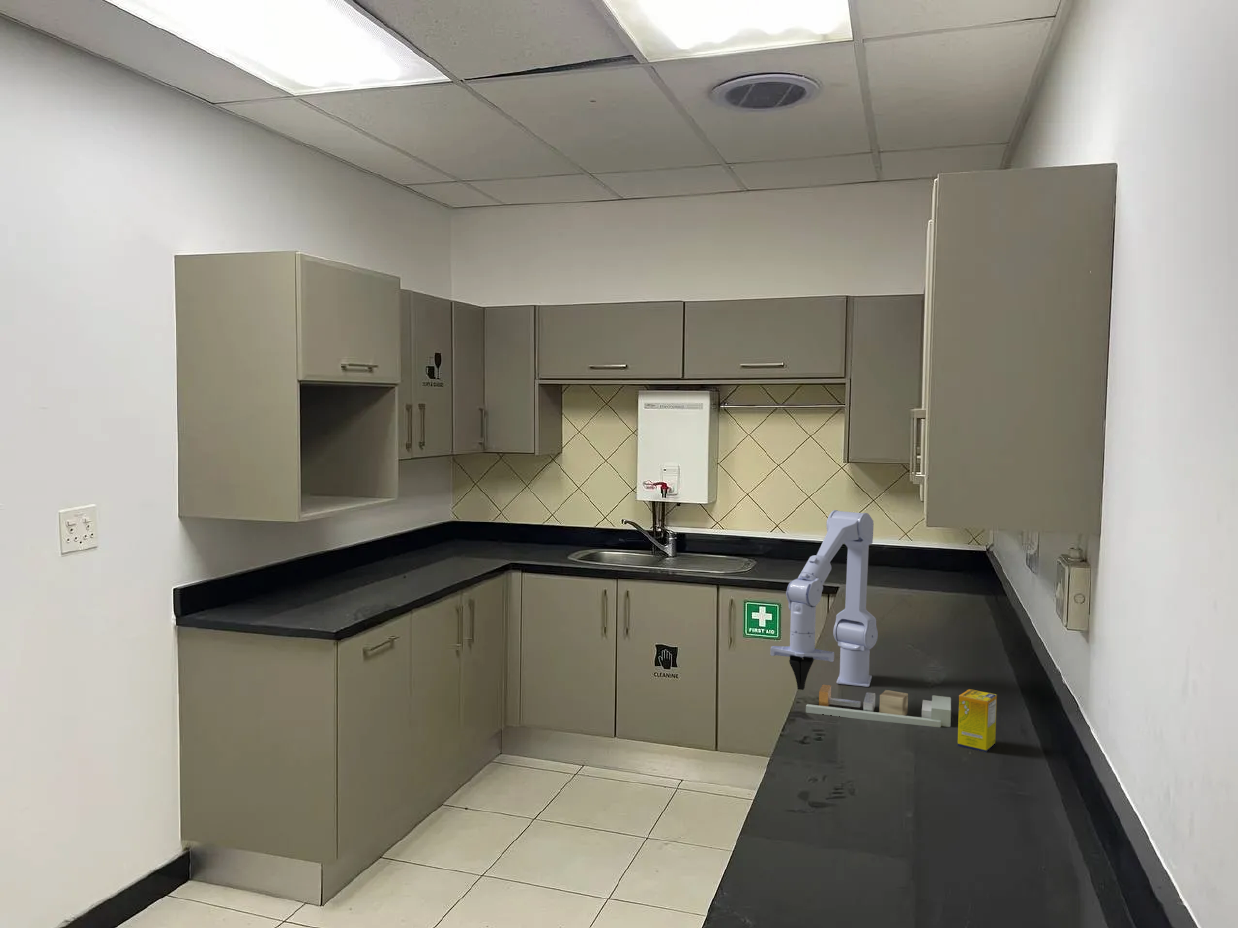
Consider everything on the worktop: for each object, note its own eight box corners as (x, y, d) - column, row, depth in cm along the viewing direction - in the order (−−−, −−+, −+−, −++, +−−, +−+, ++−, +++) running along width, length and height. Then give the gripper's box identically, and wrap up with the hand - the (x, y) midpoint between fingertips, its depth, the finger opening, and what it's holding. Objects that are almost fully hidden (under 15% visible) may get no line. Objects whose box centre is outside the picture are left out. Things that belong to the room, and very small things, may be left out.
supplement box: (966, 739, 194) (968, 688, 193) (995, 746, 190) (997, 694, 189) (956, 747, 189) (958, 694, 188) (986, 754, 185) (988, 700, 185)
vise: (812, 698, 220) (812, 682, 220) (950, 714, 210) (950, 697, 210) (805, 712, 210) (806, 695, 210) (950, 729, 200) (950, 711, 199)
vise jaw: (822, 699, 219) (823, 683, 218) (874, 705, 215) (875, 688, 214) (818, 709, 211) (818, 692, 211) (872, 716, 207) (872, 698, 207)
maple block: (885, 711, 212) (885, 689, 212) (907, 715, 210) (908, 693, 209) (879, 717, 208) (879, 695, 208) (901, 721, 205) (902, 699, 205)
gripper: (768, 631, 214) (767, 689, 215) (832, 637, 209) (830, 696, 210) (774, 625, 221) (772, 681, 221) (835, 631, 216) (834, 688, 216)
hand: (801, 688), depth 216 cm, fingers closed
